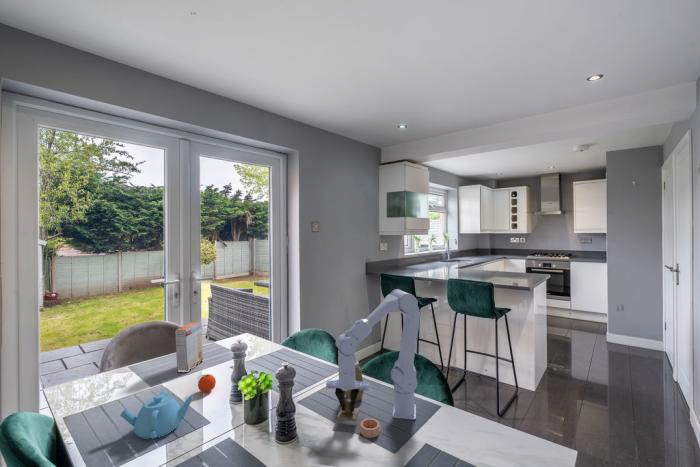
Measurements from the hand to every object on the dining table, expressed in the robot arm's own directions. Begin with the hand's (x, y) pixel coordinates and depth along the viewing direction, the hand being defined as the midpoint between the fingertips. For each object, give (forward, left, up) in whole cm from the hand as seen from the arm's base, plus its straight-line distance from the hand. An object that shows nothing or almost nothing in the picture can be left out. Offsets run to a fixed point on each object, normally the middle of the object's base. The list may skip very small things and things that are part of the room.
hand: (348, 409), depth 112 cm
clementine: (-13, -65, -6) cm, 66 cm away
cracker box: (-34, -89, -6) cm, 95 cm away
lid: (0, 0, -2) cm, 2 cm away
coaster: (0, 0, -5) cm, 5 cm away
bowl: (+3, +8, -5) cm, 10 cm away
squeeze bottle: (-17, -2, -6) cm, 18 cm away
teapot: (+13, -65, -6) cm, 66 cm away
